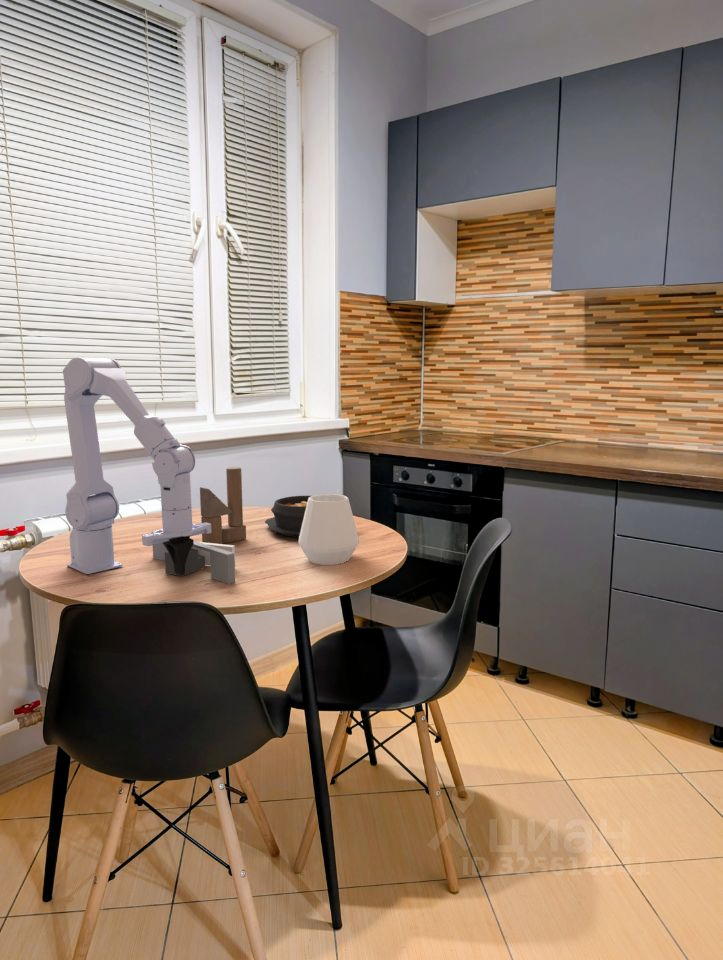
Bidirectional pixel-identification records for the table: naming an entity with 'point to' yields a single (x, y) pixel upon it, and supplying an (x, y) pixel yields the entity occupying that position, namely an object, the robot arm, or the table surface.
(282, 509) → the casserole
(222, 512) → the brown wooden block structure
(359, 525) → the table surface
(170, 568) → the dark grey block
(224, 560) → the wall frame
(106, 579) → the table surface
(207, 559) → the door
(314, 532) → the white faceted vase
